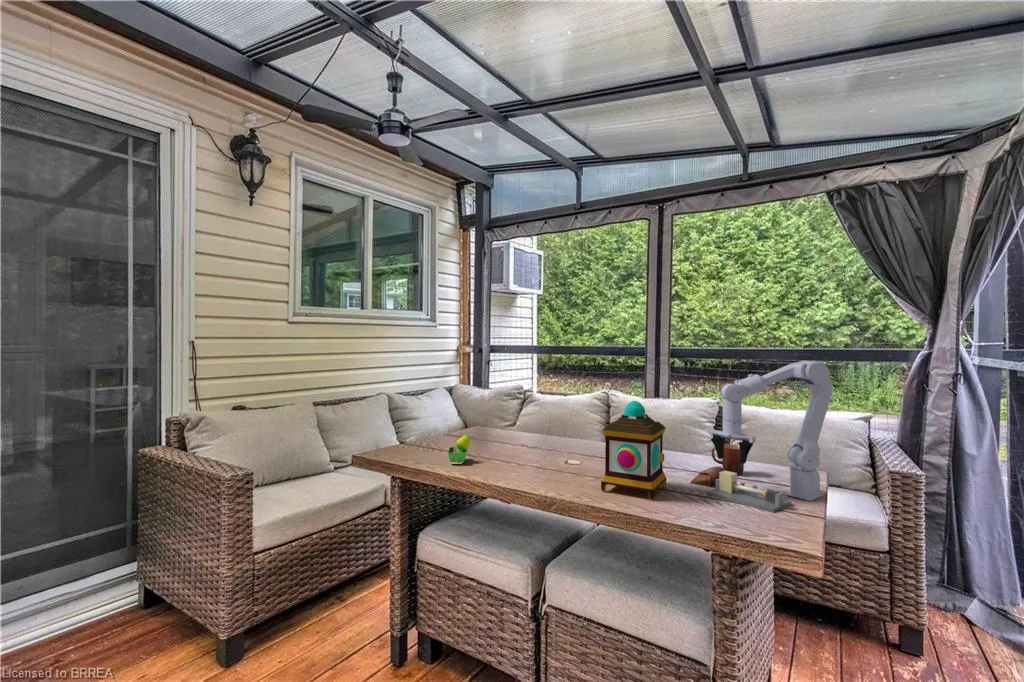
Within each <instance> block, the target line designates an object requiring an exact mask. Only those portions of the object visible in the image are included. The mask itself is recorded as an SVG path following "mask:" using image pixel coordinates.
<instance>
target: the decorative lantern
mask: <svg viewBox="0 0 1024 682" xmlns="http://www.w3.org/2000/svg"><path fill="white" fill-rule="evenodd" d="M666 429H667V428H666V426H665V425H664V424H662V423H661V422H660V421H655V419H653V418H651V416H648V413H647V414H646V408H645V406H643V405H642V403H641V402H640V401H637V400H632V401H630V402H628V403H627V404H626V405H625V406H624V409H623V414H621V416H619V418H618V419H616V420H614V421H611V422H609V423H608V424H607V425H605V426H604V427H603V429H602V434H604V437H605V438H604V439H605V448H604V449H605V451H604V452H605V455H604V456H605V463H604V465H605V468H604V469H605V470H604V475H603V476H602V479H601V481H600V490H601V491H602V492H603V491H605V492H606V491H607V486H609V485H610V486H616V487H621V488H628V489H633V490H639V491H645V492H647V493H648V498H649V500H650V501H653V500H654V497H655V491H656V490H657V489H658V488H659V487H660V486H661V487H662V488H665V487H666V485H667V477H666V474H665V473H664V470H663V462H664V461H665V454H664V453H663V439H664V438H663V436H664V434H665V431H666Z"/></svg>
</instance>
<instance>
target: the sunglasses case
mask: <svg viewBox="0 0 1024 682" xmlns="http://www.w3.org/2000/svg"><path fill="white" fill-rule="evenodd" d="M722 471H724V470H723V467H722V466H712V467H709V468H707V469H704V470H702V471H700V472H698V474H697V475H696V476H694V478H693V479H692V480H691V481H690V483H689V484H691V485H695V486H700V487H701V486H702V487H708V488H712V489H714V487H716V479H719V472H722Z"/></svg>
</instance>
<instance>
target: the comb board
mask: <svg viewBox="0 0 1024 682" xmlns="http://www.w3.org/2000/svg"><path fill="white" fill-rule="evenodd" d="M732 488H736V489H737V491H736V492H735V491H732V493H728V492H724V491H721V490H719V479H716V485H715V488H712V489H710V490H706V495H707V496H711V497H714V498H715V497H716V498H719V499H723V500H726V501H730V502H732V503H733V502H734V503H737V504H740V505H743V506H747V507H751V508H755V509H758V510H762V511H765V512H769V513H772V514H774V513H777V511H780V510H783V509H784V508H787V507H789V506H791V505H792V501H791V500H788V499H784V492H783V491H780V490H779V491H777V490H773V489H770V488H764V490H762V489H758V486H757V485H752V487H749V486H746V484H745V482H740V483H739V484H738V483H737V484H734V483H732Z"/></svg>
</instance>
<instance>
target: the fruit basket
mask: <svg viewBox="0 0 1024 682" xmlns="http://www.w3.org/2000/svg"><path fill="white" fill-rule="evenodd" d="M470 442H471V438H470V435H469V434H463V435H462V436H461V437H460V438H459V439H457V440H456V445H455V446H451V447H448V450H447V455H448V459H449V462H458V463H460V462H464V463H465V461H466V459H465V458H466V456H467V452H468V449H469V448H470Z"/></svg>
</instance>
